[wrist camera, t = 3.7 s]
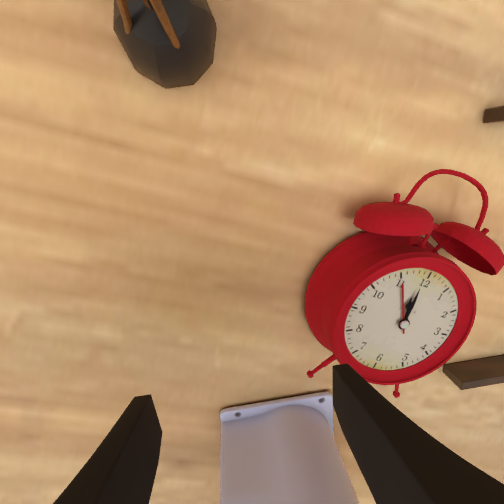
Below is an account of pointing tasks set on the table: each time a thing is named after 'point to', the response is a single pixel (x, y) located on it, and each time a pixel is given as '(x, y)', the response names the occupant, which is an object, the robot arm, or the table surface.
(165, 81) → the wooden tabletop sculpture
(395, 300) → the alarm clock
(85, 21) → the table surface
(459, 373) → the walnut frame
